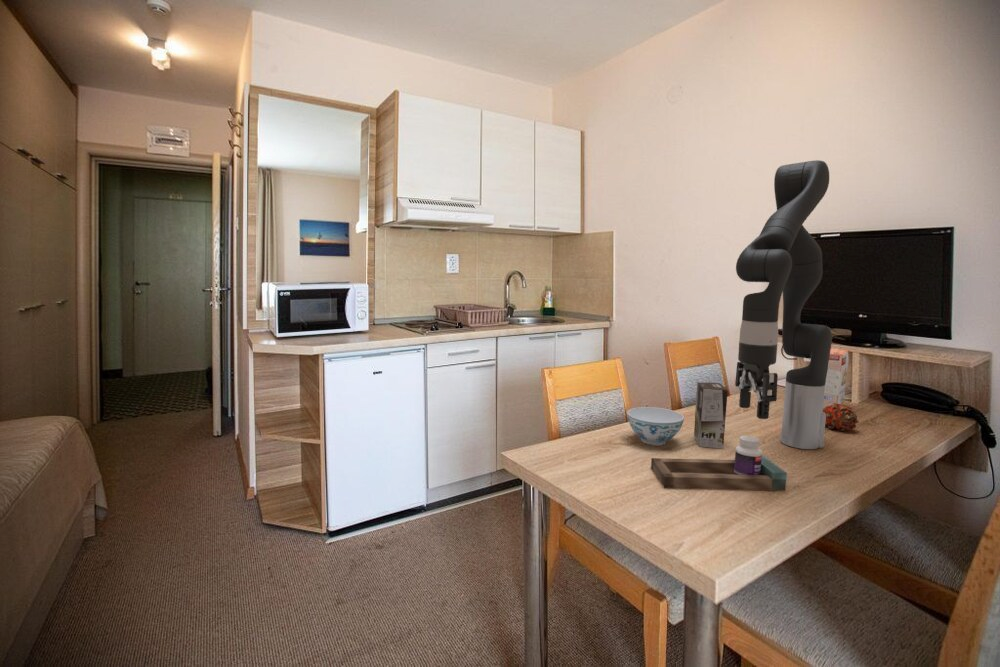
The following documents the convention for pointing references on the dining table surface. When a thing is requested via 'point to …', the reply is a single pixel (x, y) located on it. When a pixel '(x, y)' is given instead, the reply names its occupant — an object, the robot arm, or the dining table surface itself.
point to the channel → (767, 479)
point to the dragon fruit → (840, 417)
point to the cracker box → (836, 377)
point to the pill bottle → (748, 457)
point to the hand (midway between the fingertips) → (753, 412)
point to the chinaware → (655, 424)
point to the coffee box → (710, 414)
